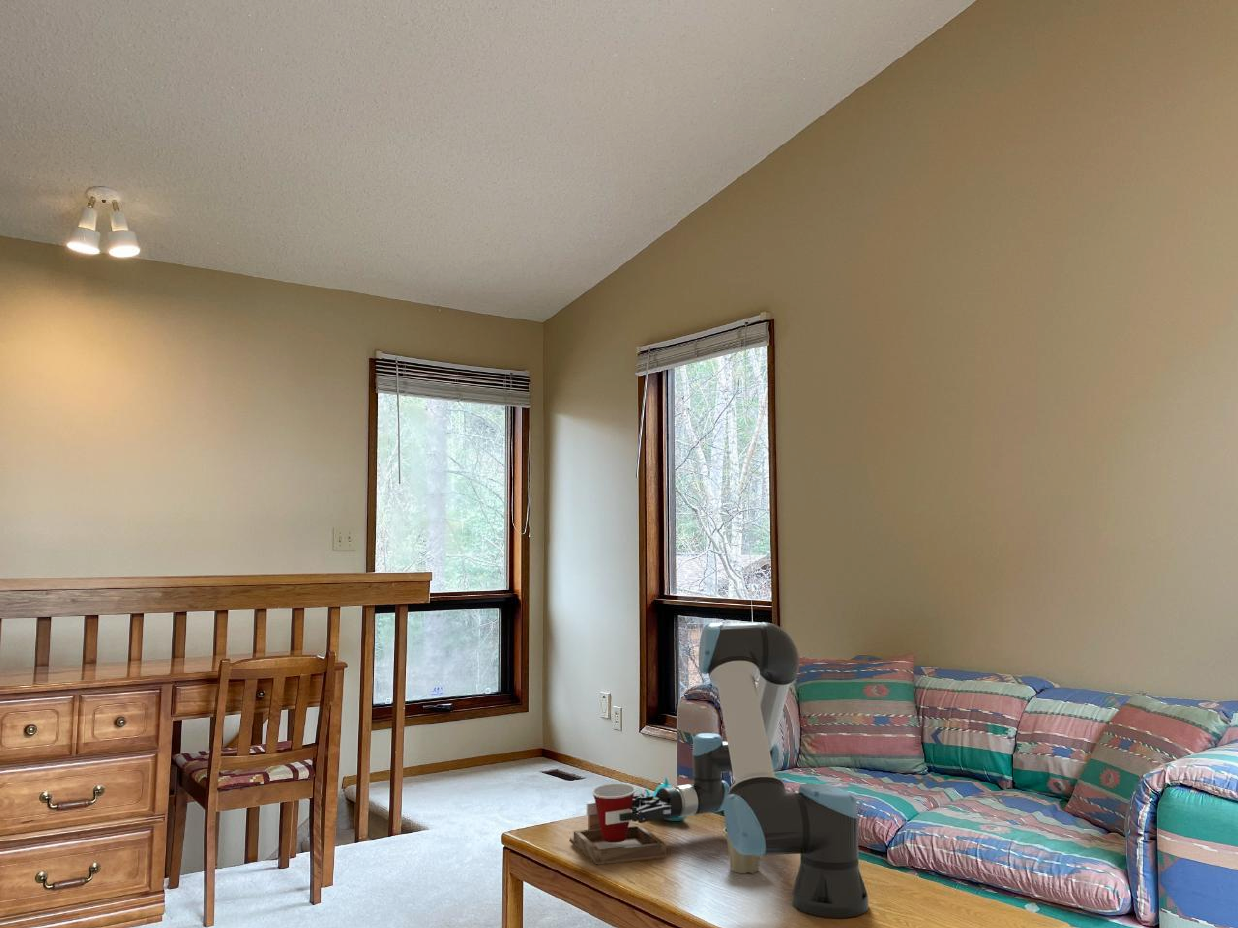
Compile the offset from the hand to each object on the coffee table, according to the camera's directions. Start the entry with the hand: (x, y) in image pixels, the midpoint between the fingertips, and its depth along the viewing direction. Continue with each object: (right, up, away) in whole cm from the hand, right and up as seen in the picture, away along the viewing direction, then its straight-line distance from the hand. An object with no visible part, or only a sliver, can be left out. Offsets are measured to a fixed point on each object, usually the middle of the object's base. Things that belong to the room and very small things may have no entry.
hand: (596, 813), depth 230 cm
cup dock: (+5, -10, +4) cm, 11 cm away
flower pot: (+34, -9, -12) cm, 37 cm away
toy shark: (+18, -13, +31) cm, 38 cm away
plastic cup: (+4, -7, +2) cm, 8 cm away
